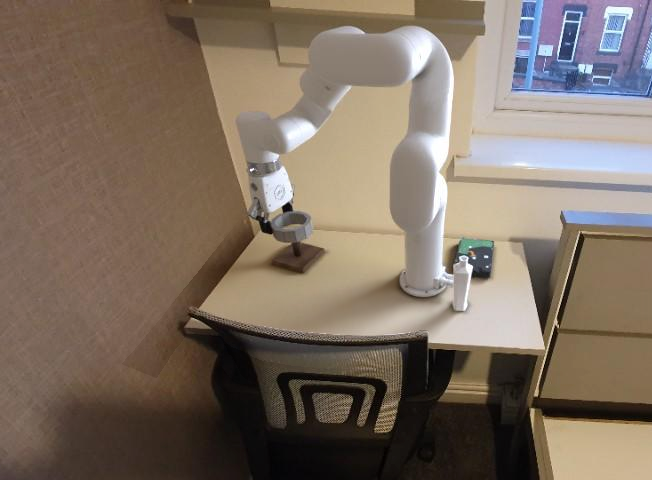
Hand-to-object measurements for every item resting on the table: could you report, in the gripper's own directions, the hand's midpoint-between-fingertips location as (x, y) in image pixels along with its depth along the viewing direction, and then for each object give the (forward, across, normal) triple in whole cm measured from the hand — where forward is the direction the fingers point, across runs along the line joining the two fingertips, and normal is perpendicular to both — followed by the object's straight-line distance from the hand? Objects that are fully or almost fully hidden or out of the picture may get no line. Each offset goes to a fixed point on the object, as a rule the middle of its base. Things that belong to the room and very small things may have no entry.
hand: (278, 224), depth 106 cm
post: (+10, 0, -5) cm, 11 cm away
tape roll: (+1, 0, -4) cm, 5 cm away
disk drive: (+10, +18, -51) cm, 55 cm away
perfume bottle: (+10, -1, -53) cm, 54 cm away
